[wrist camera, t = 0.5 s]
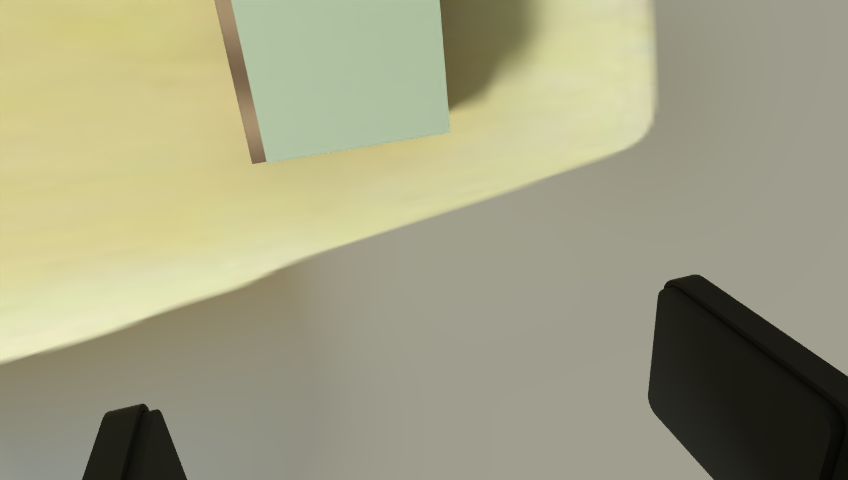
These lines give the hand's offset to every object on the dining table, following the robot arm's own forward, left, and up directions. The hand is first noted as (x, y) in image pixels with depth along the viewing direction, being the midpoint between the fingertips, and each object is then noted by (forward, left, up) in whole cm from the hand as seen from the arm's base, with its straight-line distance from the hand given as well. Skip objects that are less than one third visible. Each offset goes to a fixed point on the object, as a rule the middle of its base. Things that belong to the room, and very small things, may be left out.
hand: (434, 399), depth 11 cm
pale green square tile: (-4, +2, -26) cm, 27 cm away
